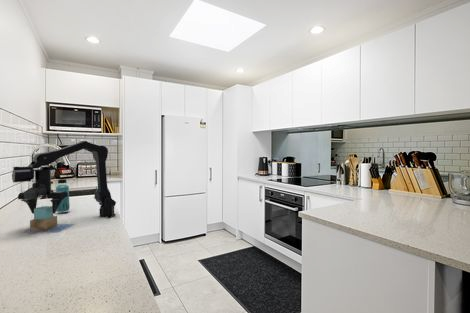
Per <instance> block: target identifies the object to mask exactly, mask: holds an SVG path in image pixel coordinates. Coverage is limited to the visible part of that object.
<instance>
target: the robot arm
mask: <svg viewBox="0 0 470 313" xmlns="http://www.w3.org/2000/svg"><path fill="white" fill-rule="evenodd" d="M81 150H82V151H83V150H85V151H88V152H89V153H91V154H92V156H93V157H92V158H93V160H94V161H95V165H96V167H95V168H96V169H95V170H96V180H97V181H96V182H97V189H96V190H95V191H93V195H94V197H93V198H94V199H95V201H96V202H97V203H98V204H99V216H98V218H106V219H107V218H108V219H109V218H113V217H115V216H116V213H115V206H116V204H117V201H116V200H114V199H113V198H112V194H111V191H110V189H109V188H108V175H107V165H106V164H107V163H106V162H107V160H108V156H109V149H108V147H106V146H105V145H98V144H95V143H92V142H89V141H87V140H80V141H78V142H76V143H73V144H70V145H67V146H65V147H61V148H58V149H56V150H51V151H50V150H49V151H44V152H39V153H36V154H35V155H34V156H33V159H32V162H30V163H29V164H28V165H27V166H13V167H12V173H11V179H12V183H25V182H31V181H32V180H33V179H34V182H33V183H32V186H31V187H29V188H28V189H27V190H24V191H23V192H19V194H18V195H17V200H20V201H21V202H24V203H26V204H27V206H28V208H29V211H30V212H31V214H33V215H34V209H35V208H37V206H38V203H37V202H38V198H50V200H49V201H50V202H51V206H52V212H53V215H54V214H56V213H57V209H58V207H59V205H60V203H61V201H62V200H63V199H65V197H68V193H67V192H66V191H57V192H56V191H54V189H52V184H54V181H52V171H55V170H57V167H54V166H53V165H52V164H53V163H54V162H56V161H58V160H60V158H63V157H66V156H69V155H71V154H73V153H76V152H79V151H81Z"/></svg>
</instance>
